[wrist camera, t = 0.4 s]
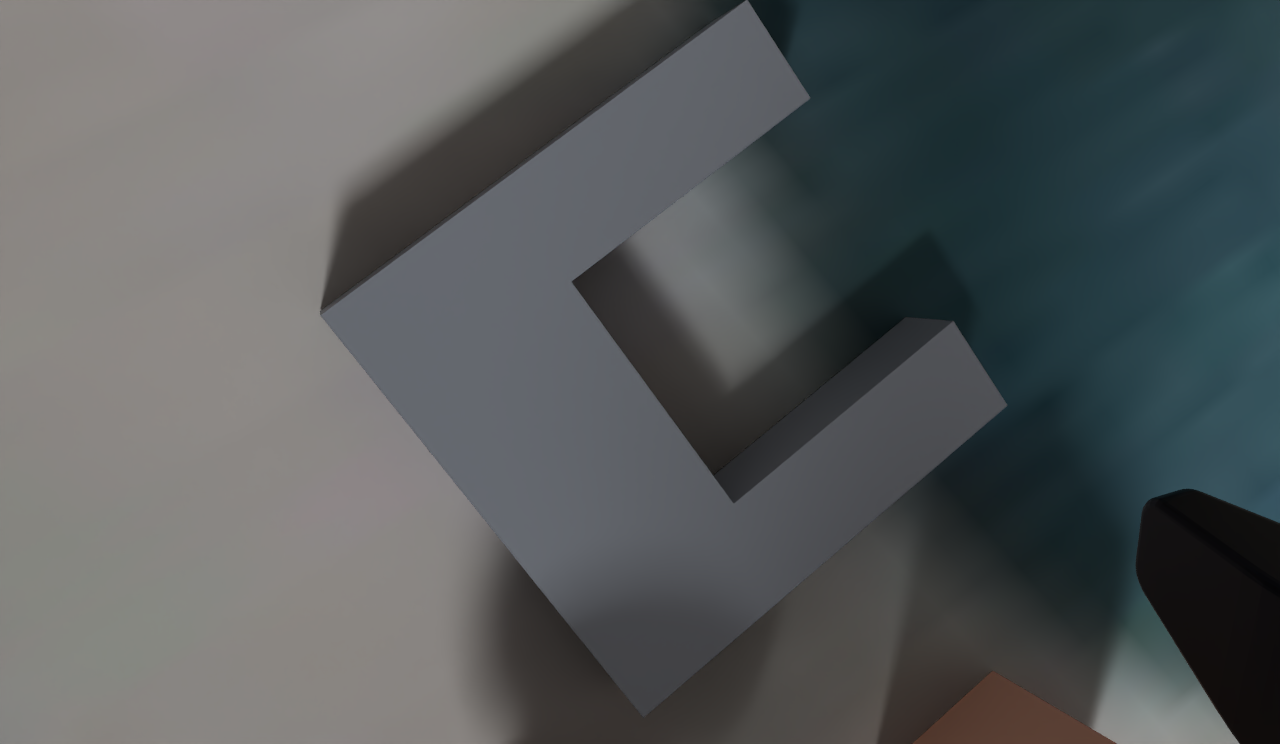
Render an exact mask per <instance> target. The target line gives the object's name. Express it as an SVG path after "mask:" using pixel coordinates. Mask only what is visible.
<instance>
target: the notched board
mask: <svg viewBox="0 0 1280 744" xmlns="http://www.w3.org/2000/svg"><path fill="white" fill-rule="evenodd" d="M809 99H810V97H809V95H808V94H807V92H806V91H805V89H804V87H803V86H802V84H801V83H800V81H799V80H798V78H797V77H796V75H795V73H794V72H793V70H792V69H791V67H790V66H789V64H788V62H787V61H786V59H785V58H784V56H783V55H782V53H781V52H780V50H779V48H778V47H777V45H776V44H775V42H774V41H773V39H772V38H771V36H770V34H769V33H768V31H767V30H766V28H765V27H764V25H763V24H762V22H761V20H760V19H759V17H758V16H757V14H756V13H755V11H754V9H753V8H752V6H751V5H750V3H749V2H748V0H746V1H744V2H742V3H741V4H739V5H738V6H736V7H734V8H733V9H731V10H730V11H728V12H726V13H725V14H723V15H721V16H720V17H718V18H717V19H715V20H713V21H712V22H711V23H709V24H708V25H707V26H705V27H704V28H702V29H701V30H700V31H698V32H697V33H696V34H694V35H693V36H692V37H690V38H689V39H688V40H686V41H685V42H684V43H682V44H681V45H679V46H678V47H677V48H675V49H674V50H673V51H671V52H670V53H669V54H667V55H666V56H665V57H663V58H662V59H661V60H659V61H658V62H656V63H655V64H654V65H652V66H651V67H650V68H648V69H647V70H646V71H644V72H643V73H642V74H640V75H639V76H638V77H636V78H635V79H633V80H632V81H631V82H629V83H628V84H627V85H625V86H624V87H623V88H621V89H620V90H619V91H617V92H616V93H615V94H613V95H612V96H610V97H609V98H608V99H606V100H605V101H604V102H602V103H601V104H600V105H598V106H597V107H596V108H594V109H593V110H592V111H590V112H589V113H587V114H586V115H585V116H583V117H582V118H581V119H579V120H578V121H577V122H575V123H574V124H573V125H571V126H570V127H569V128H567V129H566V130H564V131H563V132H562V133H560V134H559V135H558V136H556V137H555V138H554V139H552V140H551V141H550V142H548V143H547V144H546V145H544V146H543V147H542V148H540V149H539V150H537V151H536V152H535V153H533V154H532V155H531V156H529V157H528V158H527V159H525V160H524V161H523V162H521V163H520V164H519V165H517V166H516V167H514V168H513V169H512V170H510V171H509V172H508V173H506V174H505V175H504V176H502V177H501V178H500V179H498V180H497V181H496V182H494V183H493V184H491V185H490V186H489V187H487V188H486V189H485V190H483V191H482V192H481V193H479V194H478V195H477V196H475V197H474V198H473V199H471V200H470V201H468V202H467V203H466V204H464V205H463V206H462V207H460V208H459V209H458V210H456V211H455V212H454V213H452V214H451V215H450V216H448V217H447V218H445V219H444V220H443V221H441V222H440V223H439V224H437V225H436V226H435V227H433V228H432V229H431V230H429V231H428V232H427V233H425V234H424V235H422V236H421V237H420V238H418V239H417V240H416V241H414V242H413V243H412V244H410V245H409V246H408V247H406V248H405V249H404V250H402V251H401V252H399V253H398V254H397V255H395V256H394V257H393V258H391V259H390V260H389V261H387V262H386V263H385V264H383V265H382V266H381V267H379V268H378V269H376V270H375V271H374V272H372V273H371V274H370V275H368V276H367V277H366V278H364V279H363V280H362V281H360V282H359V283H358V284H356V285H355V286H353V287H352V288H351V289H349V290H348V291H347V292H345V293H344V294H343V295H341V296H340V297H339V298H337V299H336V300H335V301H333V302H332V303H330V304H329V305H328V306H326V307H325V308H324V309H322V310H321V311H320V315H321V317H322V318H323V319H324V320H325V322H326V323H327V324H328V325H329V327H330V328H331V329H332V330H333V332H334V333H335V334H336V335H337V337H338V338H339V339H340V340H341V342H342V343H343V344H344V345H345V347H346V348H347V349H348V350H349V352H350V353H351V354H352V355H353V356H354V358H355V359H356V360H357V361H358V363H359V364H360V365H361V366H362V368H363V369H364V370H365V371H366V373H367V374H368V375H369V376H370V378H371V379H372V380H373V381H374V383H375V384H376V385H377V386H378V388H379V389H380V390H381V391H382V393H383V394H384V395H385V396H386V398H387V399H388V400H389V401H390V403H391V404H392V405H393V406H394V408H395V409H396V410H397V411H398V413H399V414H400V415H401V416H402V418H403V419H404V420H405V421H406V423H407V424H408V425H409V426H410V428H411V429H412V430H413V431H414V433H415V434H416V435H417V436H418V438H419V439H420V440H421V441H422V443H423V444H424V445H425V446H426V447H427V449H428V450H429V451H430V452H431V454H432V455H433V456H434V457H435V459H436V460H437V461H438V462H439V464H440V465H441V466H442V467H443V469H444V470H445V471H446V472H447V474H448V475H449V476H450V477H451V479H452V480H453V481H454V482H455V484H456V485H457V486H458V487H459V489H460V490H461V491H462V492H463V494H464V495H465V496H466V497H467V499H468V500H469V501H470V502H471V504H472V505H473V506H474V507H475V509H476V510H477V511H478V512H479V514H480V515H481V516H482V517H483V519H484V520H485V521H486V522H487V524H488V525H489V526H490V527H491V529H492V530H493V531H494V532H495V534H496V535H497V536H498V537H499V538H500V540H501V541H502V542H503V543H504V545H505V546H506V547H507V548H508V550H509V551H510V552H511V553H512V555H513V556H514V557H515V558H516V560H517V561H518V562H519V563H520V565H521V566H522V567H523V568H524V570H525V571H526V572H527V573H528V575H529V576H530V577H531V578H532V580H533V581H534V582H535V583H536V585H537V586H538V587H539V588H540V590H541V591H542V592H543V593H544V595H545V596H546V597H547V598H548V600H549V601H550V602H551V603H552V605H553V606H554V607H555V608H556V610H557V611H558V612H559V613H560V615H561V616H562V617H563V618H564V620H565V621H566V622H567V623H568V625H569V626H570V627H571V628H572V629H573V631H574V632H575V633H576V634H577V636H578V637H579V638H580V639H581V641H582V642H583V643H584V644H585V646H586V647H587V648H588V649H589V651H590V652H591V653H592V654H593V656H594V657H595V658H596V659H597V661H598V662H599V663H600V664H601V666H602V667H603V668H604V669H605V671H606V672H607V673H608V674H609V676H610V677H611V678H612V679H613V681H614V682H615V683H616V684H617V686H618V687H619V688H620V689H621V691H622V692H623V693H624V694H625V696H626V697H627V698H628V699H629V701H630V702H631V703H632V704H633V706H634V707H635V708H636V709H637V711H638V712H639V713H640V714H641V716H642V717H643V718H644V717H645V716H646V715H647V714H649V713H650V712H651V711H652V710H653V709H654V708H656V707H657V706H658V705H659V704H660V703H661V702H663V701H664V700H665V699H666V698H667V697H668V696H670V695H671V694H672V693H673V692H674V691H675V690H677V689H678V688H679V687H680V686H681V685H682V684H684V683H685V682H686V681H687V680H688V679H689V678H691V677H692V676H693V675H694V674H695V673H696V672H698V671H699V670H700V669H701V668H702V667H703V666H705V665H706V664H707V663H708V662H709V661H710V660H712V659H713V658H714V657H715V656H716V655H717V654H718V653H720V652H721V651H722V650H723V649H724V648H725V647H727V646H728V645H729V644H730V643H731V642H732V641H734V640H735V639H736V638H737V637H738V636H739V635H741V634H742V633H743V632H744V631H745V630H746V629H748V628H749V627H750V626H751V625H752V624H753V623H755V622H756V621H757V620H758V619H759V618H760V617H762V616H763V615H764V614H765V613H766V612H767V611H769V610H770V609H771V608H772V607H773V606H774V605H776V604H777V603H778V602H779V601H780V600H781V599H783V598H784V597H785V596H786V595H787V594H788V593H790V592H791V591H792V590H793V589H794V588H795V587H797V586H798V585H799V584H800V583H801V582H802V581H804V580H805V579H806V578H807V577H808V576H809V575H810V574H812V573H813V572H814V571H815V570H816V569H817V568H819V567H820V566H821V565H822V564H823V563H824V562H826V561H827V560H828V559H829V558H830V557H831V556H833V555H834V554H835V553H836V552H837V551H838V550H840V549H841V548H842V547H843V546H844V545H845V544H847V543H848V542H849V541H850V540H851V539H852V538H854V537H855V536H856V535H857V534H858V533H859V532H861V531H862V530H863V529H864V528H865V527H866V526H868V525H869V524H870V523H871V522H872V521H873V520H875V519H876V518H877V517H878V516H879V515H880V514H882V513H883V512H884V511H885V510H886V509H887V508H889V507H890V506H891V505H892V504H893V503H894V502H896V501H897V500H898V499H899V498H900V497H901V496H903V495H904V494H905V493H906V492H907V491H908V490H909V489H911V488H912V487H913V486H914V485H915V484H916V483H918V482H919V481H920V480H921V479H922V478H923V477H925V476H926V475H927V474H928V473H929V472H930V471H932V470H933V469H934V468H935V467H936V466H937V465H939V464H940V463H941V462H942V461H943V460H944V459H946V458H947V457H948V456H949V455H950V454H951V453H953V452H954V451H955V450H956V449H957V448H958V447H960V446H961V445H962V444H963V443H964V442H965V441H967V440H968V439H969V438H970V437H971V436H972V435H974V434H975V433H976V432H977V431H978V430H979V429H981V428H982V427H983V426H984V425H985V424H986V423H988V422H989V421H990V420H991V419H992V418H993V417H995V416H996V415H997V414H998V413H999V412H1000V411H1001V410H1003V409H1004V408H1005V407H1006V406H1007V404H1006V402H1005V401H1004V399H1003V398H1002V396H1001V395H1000V393H999V391H998V390H997V388H996V387H995V385H994V384H993V382H992V380H991V379H990V377H989V376H988V374H987V373H986V371H985V370H984V368H983V366H982V365H981V363H980V362H979V360H978V359H977V357H976V356H975V354H974V352H973V351H972V349H971V348H970V346H969V345H968V343H967V342H966V340H965V338H964V337H963V335H962V334H961V332H960V331H959V329H958V327H957V326H956V324H955V323H954V321H947V320H935V319H923V318H911V317H905V318H904V319H903V320H902V321H900V322H899V323H898V324H897V325H896V326H894V327H893V328H892V329H891V330H889V331H888V332H887V333H886V334H885V335H883V336H882V337H881V338H880V339H879V340H877V341H876V342H875V343H874V344H873V345H871V346H870V347H869V348H868V349H866V350H865V351H864V352H863V353H862V354H860V355H859V356H858V357H857V358H856V359H854V360H853V361H852V362H851V363H849V364H848V365H847V366H846V367H845V368H843V369H842V370H841V371H840V372H839V373H837V374H836V375H835V376H834V377H832V378H831V379H830V380H829V381H828V382H826V383H825V384H824V385H823V386H822V387H820V388H819V389H818V390H817V391H816V392H814V393H813V394H812V395H811V396H809V397H808V398H807V399H806V400H805V401H803V402H802V403H801V404H800V405H799V406H797V407H796V408H795V409H794V410H792V411H791V412H790V413H789V414H788V415H786V416H785V417H784V418H783V419H782V420H780V421H779V422H778V423H777V424H775V425H774V426H773V427H772V428H771V429H769V430H768V431H767V432H766V433H765V434H763V435H762V436H761V437H760V438H759V439H757V440H756V441H755V442H754V443H752V444H751V445H750V446H749V447H748V448H746V449H745V450H744V451H743V452H742V453H740V454H739V455H738V456H737V457H735V458H734V459H733V460H732V461H731V462H729V463H728V464H727V465H726V466H725V467H723V468H722V469H721V470H720V471H718V472H717V473H716V474H715V475H714V476H713V475H712V473H711V472H710V471H709V469H708V468H707V466H706V465H705V464H704V462H703V461H702V460H701V458H700V457H699V456H698V454H697V453H696V451H695V450H694V449H693V447H692V446H691V445H690V443H689V442H688V441H687V439H686V438H685V436H684V435H683V434H682V432H681V431H680V430H679V428H678V427H677V425H676V424H675V423H674V421H673V420H672V419H671V417H670V416H669V415H668V413H667V412H666V410H665V409H664V408H663V406H662V405H661V404H660V402H659V401H658V400H657V398H656V397H655V395H654V394H653V393H652V391H651V390H650V389H649V387H648V386H647V384H646V383H645V382H644V380H643V379H642V378H641V376H640V375H639V374H638V372H637V371H636V369H635V368H634V367H633V365H632V364H631V363H630V361H629V360H628V359H627V357H626V356H625V354H624V353H623V352H622V350H621V349H620V348H619V346H618V345H617V344H616V342H615V341H614V339H613V338H612V337H611V335H610V334H609V333H608V331H607V330H606V328H605V327H604V326H603V324H602V323H601V322H600V320H599V319H598V318H597V316H596V315H595V313H594V312H593V311H592V309H591V308H590V307H589V305H588V304H587V303H586V301H585V300H584V298H583V297H582V296H581V294H580V293H579V292H578V290H577V289H576V287H575V286H574V285H573V283H572V281H573V280H574V279H576V278H577V277H578V276H579V275H581V274H582V273H583V272H585V271H586V270H587V269H589V268H590V267H591V266H592V265H594V264H595V263H596V262H598V261H599V260H600V259H602V258H603V257H604V256H606V255H607V254H608V253H609V252H611V251H612V250H613V249H615V248H616V247H617V246H619V245H620V244H621V243H622V242H624V241H625V240H626V239H628V238H629V237H630V236H632V235H633V234H634V233H635V232H637V231H638V230H639V229H641V228H642V227H643V226H645V225H646V224H647V223H648V222H650V221H651V220H652V219H654V218H655V217H656V216H658V215H659V214H660V213H662V212H663V211H664V210H665V209H667V208H668V207H669V206H671V205H672V204H673V203H675V202H676V201H677V200H678V199H680V198H681V197H682V196H684V195H685V194H686V193H688V192H689V191H690V190H691V189H693V188H694V187H695V186H697V185H698V184H699V183H701V182H702V181H703V180H704V179H706V178H707V177H708V176H710V175H711V174H712V173H714V172H715V171H716V170H718V169H719V168H720V167H721V166H723V165H724V164H725V163H727V162H728V161H729V160H731V159H732V158H733V157H734V156H736V155H737V154H738V153H740V152H741V151H742V150H744V149H745V148H746V147H747V146H749V145H750V144H751V143H753V142H754V141H755V140H757V139H758V138H759V137H761V136H762V135H763V134H764V133H766V132H767V131H768V130H770V129H771V128H772V127H774V126H775V125H776V124H777V123H779V122H780V121H781V120H783V119H784V118H785V117H787V116H788V115H789V114H790V113H792V112H793V111H794V110H796V109H797V108H798V107H800V106H801V105H802V104H803V103H805V102H806V101H807V100H809Z"/></svg>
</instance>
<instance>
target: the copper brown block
mask: <svg viewBox="0 0 1280 744" xmlns="http://www.w3.org/2000/svg"><path fill="white" fill-rule="evenodd" d="M912 744H1117V743H1115V742H1113V741H1111V740H1110V739H1108V738H1106V737H1105V736H1103V735H1101V734H1100V733H1098V732H1096V731H1094V730H1093V729H1091V728H1089V727H1088V726H1086V725H1084V724H1083V723H1081V722H1079V721H1077V720H1076V719H1074V718H1072V717H1071V716H1069V715H1067V714H1066V713H1064V712H1062V711H1060V710H1059V709H1057V708H1055V707H1054V706H1052V705H1050V704H1049V703H1047V702H1045V701H1043V700H1042V699H1040V698H1038V697H1037V696H1035V695H1033V694H1032V693H1030V692H1028V691H1026V690H1025V689H1023V688H1021V687H1020V686H1018V685H1016V684H1015V683H1013V682H1011V681H1009V680H1008V679H1006V678H1004V677H1003V676H1001V675H999V674H998V673H996V672H994V671H992V672H991V673H989V674H988V675H987V676H986V677H985V678H984V679H983V680H982V681H981V682H980V683H978V684H977V685H976V686H975V687H974V688H973V689H972V690H971V691H970V692H969V693H967V694H966V695H965V696H964V697H963V698H962V699H961V700H960V701H959V702H958V703H956V704H955V705H954V706H953V707H952V708H951V709H950V710H949V711H948V712H947V713H945V714H944V715H943V716H942V717H941V718H940V719H939V720H938V721H937V722H936V723H934V724H933V725H932V726H931V727H930V728H929V729H928V730H927V731H926V732H925V733H923V734H922V735H921V736H920V737H919V738H918V739H917V740H916V741H915V742H914V743H912Z"/></svg>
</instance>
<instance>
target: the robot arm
mask: <svg viewBox="0 0 1280 744" xmlns="http://www.w3.org/2000/svg"><path fill="white" fill-rule="evenodd" d="M1136 573H1137V577H1138V581H1139V583H1140V586H1141V588H1142V590H1143V592H1144V594H1145V595H1146V597H1147V598H1148V600H1149V602H1150V603H1151V605H1152V607H1153V608H1154V610H1155V611H1156V613H1157V615H1158V616H1159V618H1160V619H1161V621H1162V623H1163V624H1164V626H1165V628H1166V629H1167V631H1168V632H1169V634H1170V636H1171V637H1172V639H1173V640H1174V642H1175V644H1176V645H1177V647H1178V649H1179V650H1180V652H1181V653H1182V655H1183V657H1184V658H1185V660H1186V661H1187V663H1188V665H1189V666H1190V668H1191V669H1192V671H1193V673H1194V674H1195V676H1196V678H1197V679H1198V681H1199V682H1200V684H1201V686H1202V687H1203V689H1204V690H1205V692H1206V694H1207V695H1208V697H1209V699H1210V700H1211V702H1212V703H1213V705H1214V707H1215V708H1216V710H1217V711H1218V713H1219V714H1220V716H1221V717H1222V719H1223V720H1224V722H1225V723H1226V725H1227V726H1228V728H1229V729H1230V731H1231V732H1232V734H1233V735H1234V736H1235V738H1236V739H1237V741H1238V742H1239V743H1240V744H1280V523H1278V522H1276V521H1273V520H1271V519H1268V518H1266V517H1263V516H1261V515H1258V514H1256V513H1253V512H1251V511H1248V510H1246V509H1243V508H1241V507H1238V506H1236V505H1233V504H1231V503H1228V502H1226V501H1223V500H1221V499H1218V498H1216V497H1213V496H1211V495H1208V494H1206V493H1203V492H1200V491H1197V490H1194V489H1182V490H1178V491H1175V492H1171V493H1168V494H1165V495H1161V496H1158V497H1155V498H1152V499H1150V500H1149V501H1147V503H1146V504H1145V506H1144V507H1143V510H1142V516H1141V524H1140V532H1139V540H1138V548H1137V556H1136Z"/></svg>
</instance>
